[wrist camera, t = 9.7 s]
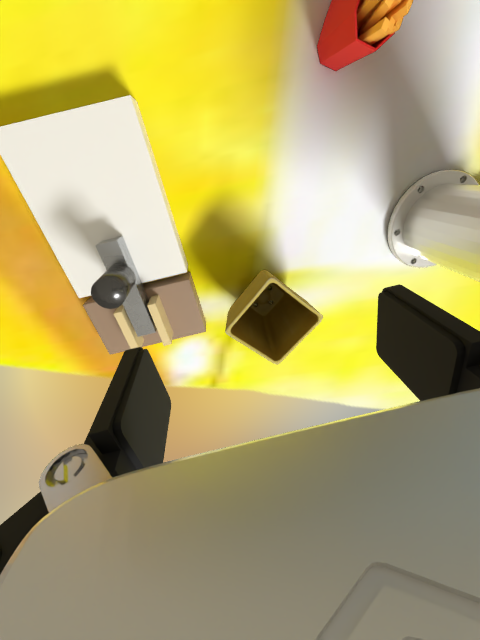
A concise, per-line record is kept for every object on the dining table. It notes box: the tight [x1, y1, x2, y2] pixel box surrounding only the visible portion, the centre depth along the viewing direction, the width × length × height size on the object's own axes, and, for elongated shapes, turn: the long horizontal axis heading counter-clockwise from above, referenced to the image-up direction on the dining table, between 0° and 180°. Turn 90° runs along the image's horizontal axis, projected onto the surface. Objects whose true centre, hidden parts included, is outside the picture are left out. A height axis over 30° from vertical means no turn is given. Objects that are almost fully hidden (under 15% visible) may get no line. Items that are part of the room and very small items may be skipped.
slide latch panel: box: [0, 95, 206, 354], centre depth 33 cm, size 14×27×6 cm, turn 12°
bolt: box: [91, 236, 157, 337], centre depth 32 cm, size 3×12×7 cm, turn 12°
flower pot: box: [225, 270, 323, 364], centre depth 37 cm, size 9×9×9 cm
